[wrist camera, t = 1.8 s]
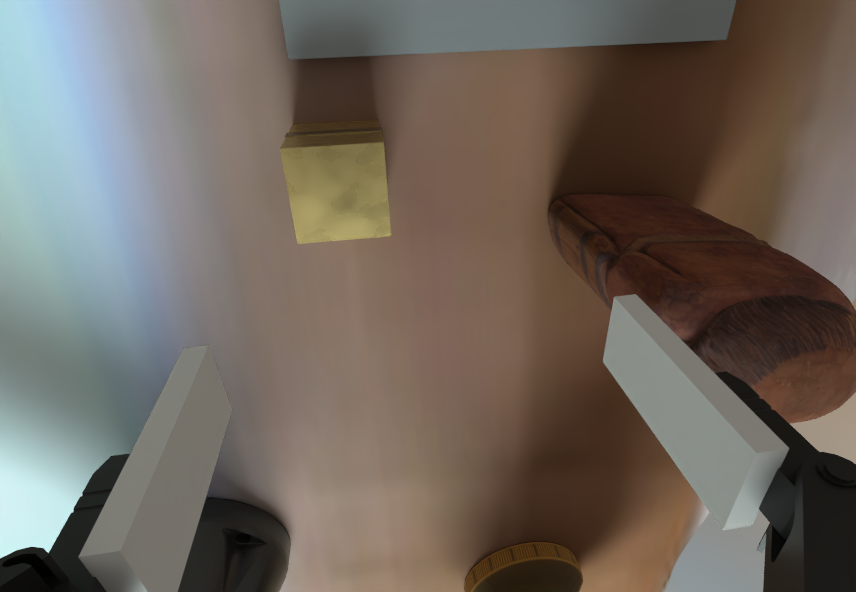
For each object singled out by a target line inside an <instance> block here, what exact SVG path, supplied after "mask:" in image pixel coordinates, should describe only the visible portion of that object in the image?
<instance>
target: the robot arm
mask: <svg viewBox="0 0 856 592" xmlns="http://www.w3.org/2000/svg"><path fill="white" fill-rule="evenodd" d="M603 363H604V364H605V365H606V367H607V368H608V370H609V371H610V372H611V374H612V375H613V377H614V378H615V379H616V381H617V382H618V384H619V385H620V387H621V388H622V389H623V391H624V392H625V394H626V395H627V396H628V398H629V399H630V401H631V402H632V403H633V405H634V406H635V408H636V409H637V410H638V412H639V413H640V415H641V416H642V417H643V419H644V420H645V422H646V423H647V425H648V426H649V427H650V429H651V430H652V432H653V433H654V434H655V436H656V437H657V439H658V440H659V441H660V443H661V444H662V446H663V447H664V448H665V450H666V451H667V453H668V454H669V455H670V457H671V458H672V460H673V461H674V463H675V464H676V465H677V467H678V468H679V470H680V471H681V472H682V474H683V475H684V477H685V478H686V479H687V481H688V482H689V484H690V485H691V486H692V488H693V489H694V491H695V492H696V493H697V495H698V496H699V498H700V499H701V500H702V502H703V503H704V505H705V506H706V508H707V509H708V510H709V512H710V513H711V514H712V516H713V517H714V519H715V520H716V522H717V523H718V524H719V526H720V527H721V529H722V530H727V529H733V528H739V527H745V526H751V525H752V524H753V522H754V520H755V518H756V516H757V514H758V512H759V510H760V511H761V512H762V513H763V515H764V516H765V517H766V518H767V519H768V521H769V522H770V524H769V526H768V528H767V530H766V532H765V533H764V535H763V537H762V540H761V541H760V543H759V546H758V548H757V551H759V552H763V550H764V548H765V567H764V587H763V588H764V589H763V592H856V464H854V463H853V462H851V461H850V460H847V459H845V458H843V457H840V456H838V455H835V454H830V453H825V452H819V451H817V450H816V449H815V448H814V447H813V446H812V445H811V444H810V443H809V442H808V441H807V440H806V439H805V438H804V437H803V436H802V435H801V434H799V433H798V432H797V431H796V430H795V429H794V428H793V427H792V426H791V425H790V424H789V423H788V422H787V421H786V420H785V419H784V418H783V417H782V416H781V415H779V414H778V413H777V412H776V411H775V410H772V408H771V406H770V405H769V404H768V403H767V402H766V401H765V400H764V399H761V398H760V396H759V395H758V394H757V393H756V392H755V391H754V390H753V389H752V388H751V387H750V386H749V385H748V384H747V383H746V382H744V381H742V380H741V379H739V378H737V377H735V376H734V375H732V374H730V373H728V372H727V371H724V372H717V373H714V372H713V371H712V370H711V369H710V368H709V367H708V366H707V365H706V364H705V363H704V362H703V361H702V360H701V359H700V358H699V357H698V356H697V355H696V354H695V353H694V352H693V351H692V350H691V349H690V348H689V347H688V346H687V345H686V344H685V343H684V342H683V341H682V340H681V339H680V338H679V337H678V336H677V335H676V334H675V333H674V332H673V331H672V330H671V329H670V328H669V327H668V326H667V325H666V324H665V323H664V322H663V321H662V320H661V319H660V318H659V317H658V316H657V315H656V314H655V313H654V312H653V311H652V310H651V309H650V308H649V307H648V306H647V305H646V304H645V303H644V302H643V301H642V300H641V299H640V298H639V297H638V296H637V295H636V294H633V295H625V296H616V297H614V299H613V305H612V311H611V317H610V322H609V328H608V334H607V340H606V345H605V351H604V357H603ZM231 413H232V407H231V405H230V402H229V399H228V396H227V393H226V391H225V388H224V385H223V382H222V380H221V377H220V374H219V371H218V369H217V366H216V363H215V360H214V358H213V355H212V352H211V349H210V346H209V345H205V346H197V347H188V348H183V350H182V352H181V354H180V356H179V358H178V360H177V362H176V364H175V366H174V368H173V370H172V372H171V374H170V376H169V378H168V380H167V382H166V384H165V386H164V388H163V390H162V392H161V394H160V396H159V398H158V400H157V402H156V404H155V406H154V408H153V410H152V412H151V414H150V416H149V418H148V420H147V422H146V423H145V425H144V427H143V429H142V431H141V433H140V435H139V437H138V439H137V441H136V443H135V445H134V447H133V449H132V451H131V453H130V454H123V455H116V456H111V457H110V458H109V459H108V460H107V461H106V462H105V463H104V464H103V465H102V466H101V467H100V468H99V469H98V470H97V471H96V472H95V473H94V474H93V475H92V477H91V479H90V480H89V482H88V484H87V486H86V488H85V489H84V491H83V493H82V494H83V496H82V497H80V498H79V500H78V502H77V504H76V505H75V507H74V512H73V513H71V514H70V516H69V518H68V520H67V521H66V523H65V525H64V527H63V529H62V530H61V532H60V534H59V536H58V537H57V539H56V541H55V543H54V545H53V546H52V548H51V550H50V552H49V554H48V553H47V552H46V551H45V550H44V549H43V548H37V547H29V548H25V549H21V550H17V551H15V552H13V553H11V554H9V555H7V556H5V557H3V558H1V559H0V592H279V591H280V589H281V587H282V584H283V582H284V580H285V577H286V574H287V570H288V564H289V555H290V540H289V537H288V534H287V532H286V531H285V529H284V528H283V526H282V525H281V524H280V523H279V522H278V521H277V520H276V519H274V518H273V517H272V516H270V515H269V514H267V513H265V512H263V511H262V510H259V509H257V508H255V507H252V506H249V505H246V504H243V503H239V502H235V501H229V500H222V499H206V496H207V493H208V489H209V486H210V483H211V480H212V476H213V473H214V470H215V466H216V463H217V460H218V456H219V453H220V450H221V446H222V443H223V440H224V436H225V433H226V430H227V427H228V423H229V420H230V417H231ZM765 546H766V547H765Z"/></svg>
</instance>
